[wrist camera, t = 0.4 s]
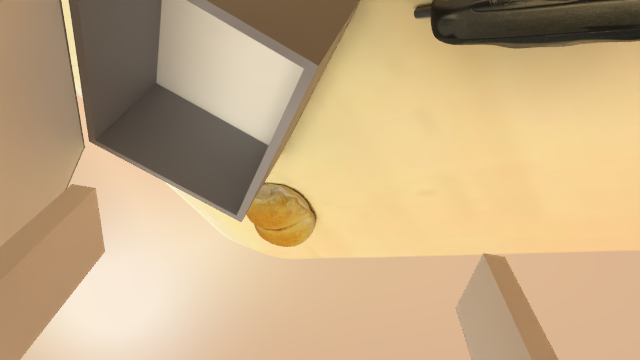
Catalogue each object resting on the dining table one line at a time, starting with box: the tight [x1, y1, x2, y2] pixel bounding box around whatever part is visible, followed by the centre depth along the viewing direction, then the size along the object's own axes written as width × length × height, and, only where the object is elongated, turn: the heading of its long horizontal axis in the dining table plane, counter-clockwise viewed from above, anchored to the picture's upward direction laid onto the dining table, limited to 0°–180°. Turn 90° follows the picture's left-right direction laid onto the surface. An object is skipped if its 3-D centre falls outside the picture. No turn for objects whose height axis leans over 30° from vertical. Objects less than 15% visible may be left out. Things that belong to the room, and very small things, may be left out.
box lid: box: [0, 0, 85, 246], centre depth 21 cm, size 19×14×1 cm
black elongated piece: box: [414, 0, 640, 48], centre depth 20 cm, size 5×3×15 cm
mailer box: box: [69, 0, 360, 222], centre depth 29 cm, size 18×14×9 cm
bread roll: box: [246, 183, 315, 247], centre depth 45 cm, size 8×9×4 cm
